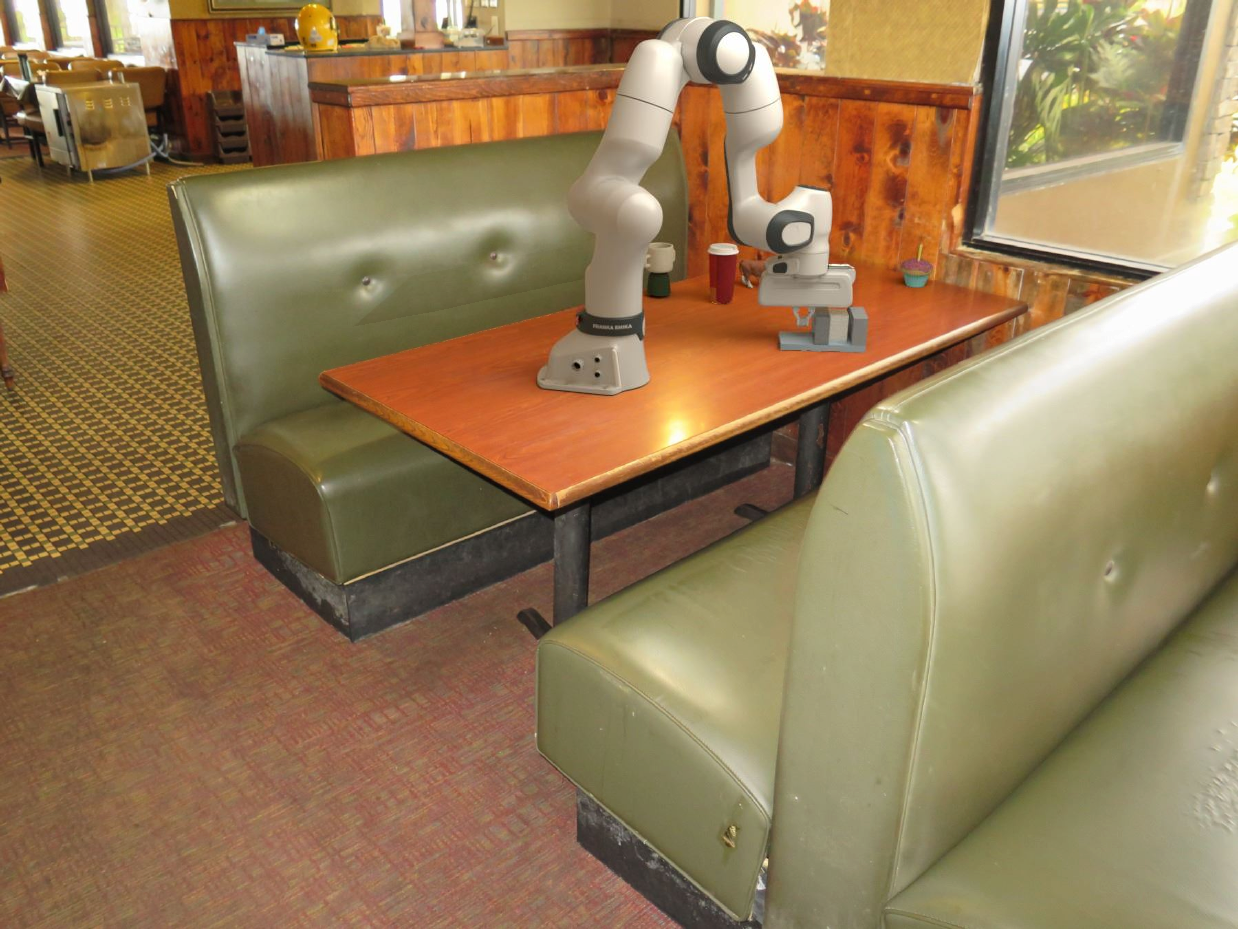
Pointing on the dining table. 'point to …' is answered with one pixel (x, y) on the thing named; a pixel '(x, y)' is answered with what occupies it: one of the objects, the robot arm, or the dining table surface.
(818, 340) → the jaw
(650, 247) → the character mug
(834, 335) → the block
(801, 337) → the vise base
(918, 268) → the cupcake
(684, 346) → the dining table surface
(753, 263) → the bull figurine
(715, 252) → the paper cup
